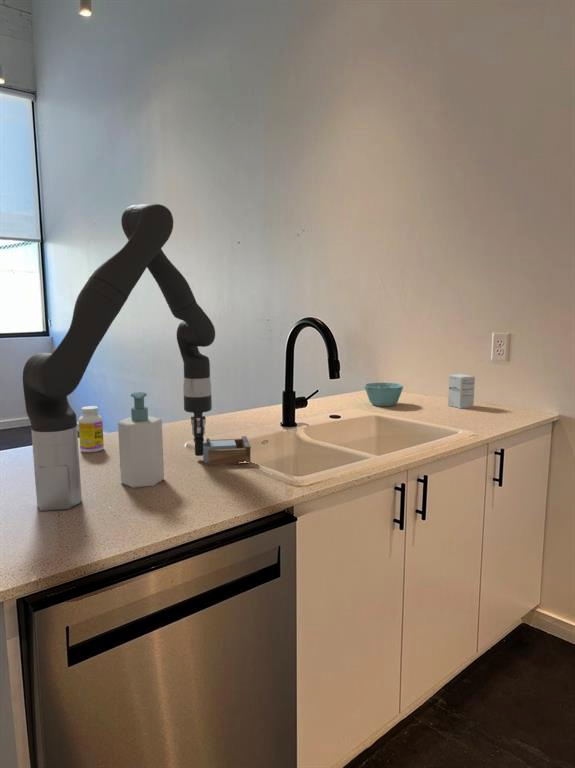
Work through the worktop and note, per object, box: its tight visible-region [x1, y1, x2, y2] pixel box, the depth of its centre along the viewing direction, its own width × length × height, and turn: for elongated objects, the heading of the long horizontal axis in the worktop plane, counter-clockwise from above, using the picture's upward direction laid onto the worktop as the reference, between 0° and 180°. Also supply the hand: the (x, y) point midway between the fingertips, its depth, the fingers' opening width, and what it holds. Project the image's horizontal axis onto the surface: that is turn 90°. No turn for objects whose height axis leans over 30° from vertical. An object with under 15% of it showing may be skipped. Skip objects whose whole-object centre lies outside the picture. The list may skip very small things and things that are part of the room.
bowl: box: [363, 381, 404, 407], centre depth 236 cm, size 16×16×8 cm
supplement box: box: [447, 373, 476, 410], centre depth 231 cm, size 7×7×13 cm
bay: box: [208, 435, 252, 467], centre depth 161 cm, size 12×11×5 cm
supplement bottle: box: [78, 405, 105, 453], centre depth 169 cm, size 7×7×13 cm
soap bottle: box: [117, 391, 165, 489], centre depth 140 cm, size 10×9×22 cm
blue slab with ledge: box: [202, 437, 236, 464], centre depth 161 cm, size 6×9×6 cm, turn 100°
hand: (199, 454), depth 160 cm, fingers closed
